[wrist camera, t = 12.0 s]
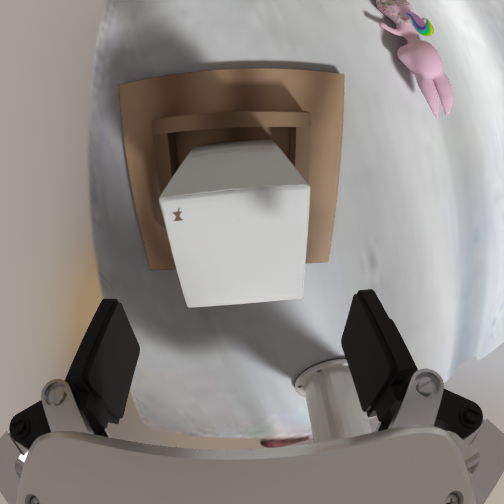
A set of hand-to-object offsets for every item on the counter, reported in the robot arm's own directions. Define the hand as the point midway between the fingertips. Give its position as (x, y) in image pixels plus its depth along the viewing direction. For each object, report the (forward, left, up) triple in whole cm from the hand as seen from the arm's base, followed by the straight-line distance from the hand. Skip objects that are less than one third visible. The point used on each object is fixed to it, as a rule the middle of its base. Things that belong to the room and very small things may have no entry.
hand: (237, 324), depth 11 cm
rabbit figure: (-17, -15, -19) cm, 30 cm away
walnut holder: (0, 0, -18) cm, 18 cm away
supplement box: (0, 0, -17) cm, 17 cm away
